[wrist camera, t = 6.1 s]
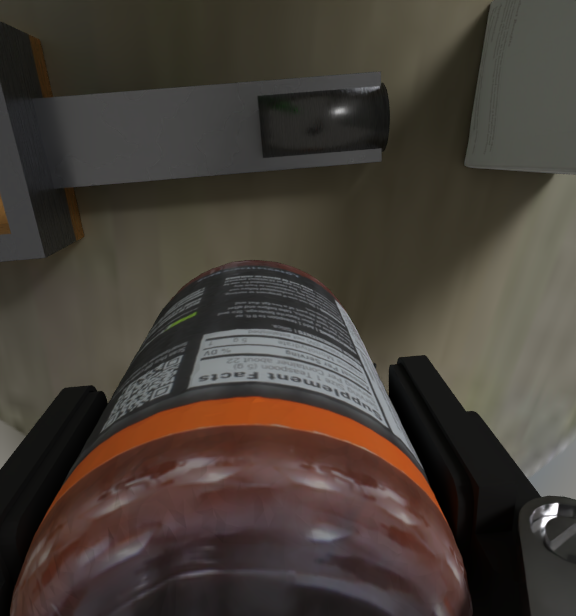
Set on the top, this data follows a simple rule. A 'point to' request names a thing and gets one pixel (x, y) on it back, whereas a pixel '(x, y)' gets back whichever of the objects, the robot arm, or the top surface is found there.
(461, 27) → the top surface
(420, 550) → the supplement bottle
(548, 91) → the skincare box
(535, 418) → the top surface
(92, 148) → the grey long handled piece
